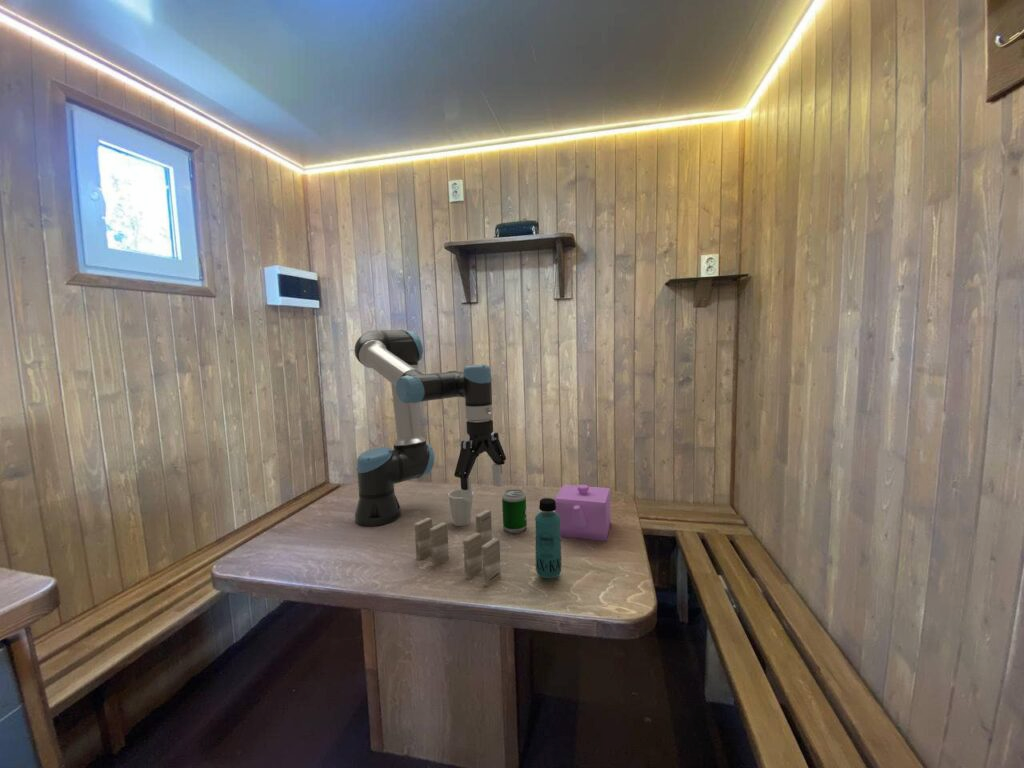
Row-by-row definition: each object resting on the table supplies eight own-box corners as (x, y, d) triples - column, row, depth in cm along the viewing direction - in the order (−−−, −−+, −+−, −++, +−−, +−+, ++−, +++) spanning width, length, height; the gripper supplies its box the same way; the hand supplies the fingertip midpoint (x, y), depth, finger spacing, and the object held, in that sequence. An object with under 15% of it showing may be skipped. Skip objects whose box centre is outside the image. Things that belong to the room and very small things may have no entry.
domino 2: (431, 564, 114) (429, 529, 113) (444, 556, 118) (443, 522, 117) (435, 566, 113) (433, 530, 112) (448, 558, 117) (447, 523, 116)
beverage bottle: (534, 571, 109) (531, 496, 107) (559, 569, 109) (557, 494, 107) (537, 585, 102) (535, 505, 100) (564, 583, 103) (563, 504, 101)
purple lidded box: (549, 546, 122) (548, 499, 120) (566, 512, 145) (565, 473, 144) (603, 553, 117) (602, 504, 115) (611, 517, 140) (611, 476, 139)
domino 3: (465, 577, 107) (463, 540, 106) (477, 568, 111) (476, 532, 110) (469, 579, 106) (468, 541, 105) (482, 570, 110) (480, 533, 109)
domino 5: (483, 585, 103) (481, 546, 102) (495, 575, 107) (494, 537, 106) (488, 587, 102) (486, 547, 101) (501, 577, 106) (499, 539, 105)
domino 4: (477, 549, 121) (475, 515, 120) (487, 542, 125) (486, 509, 124) (481, 550, 120) (480, 517, 119) (492, 543, 124) (490, 510, 123)
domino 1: (416, 558, 117) (414, 524, 116) (429, 551, 121) (427, 517, 120) (420, 560, 116) (418, 525, 115) (433, 552, 120) (431, 518, 119)
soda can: (524, 535, 129) (523, 497, 128) (500, 533, 131) (499, 496, 130) (528, 524, 137) (527, 488, 135) (506, 523, 138) (504, 487, 137)
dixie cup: (460, 530, 134) (459, 499, 133) (444, 523, 140) (442, 493, 139) (479, 521, 140) (478, 492, 139) (463, 515, 146) (462, 487, 145)
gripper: (459, 428, 107) (463, 510, 109) (515, 413, 127) (518, 482, 129) (438, 426, 111) (442, 504, 113) (496, 412, 131) (498, 478, 133)
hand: (483, 492), depth 121 cm, fingers open, 13 cm apart
